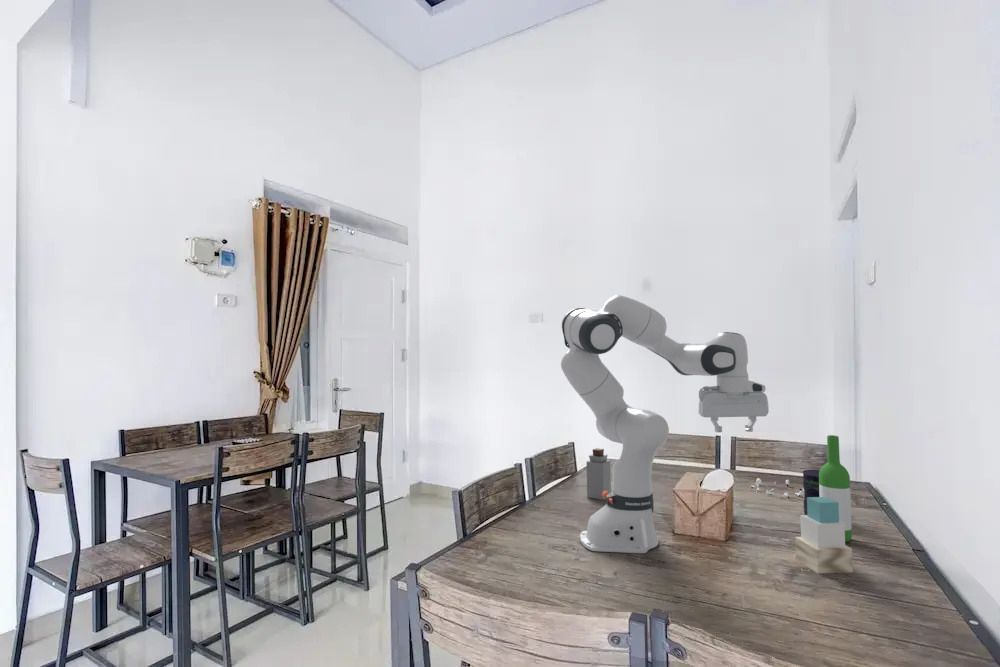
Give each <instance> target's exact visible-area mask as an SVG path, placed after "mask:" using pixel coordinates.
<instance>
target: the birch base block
mask: <svg viewBox="0 0 1000 667" xmlns="http://www.w3.org/2000/svg"><path fill="white" fill-rule="evenodd" d="M794 540H795V541H794V543H795V545H794V547H795V550H794V552H795V560H797V561H798V562H800V563H801V564H803V565H804V566H806V567H807V568H809V569H810V570H812V571H813V572H815V573H817V574H838V573H839V574H841V573H842V574H843V573H844V574H845V573H853V572H854V571H853V570H854V568H853V567H854V565H853V548H852V547H849V546H848V545H846V544H845V548H817V547H815V546H813V545H812V544H810V543H808V542H807V541H805V540H803V539H802V538H801V536H795V537H794Z"/></svg>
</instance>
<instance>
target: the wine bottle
mask: <svg viewBox="0 0 1000 667" xmlns="http://www.w3.org/2000/svg"><path fill="white" fill-rule="evenodd" d="M826 440H827V441H826V444H827V461H826V463H825V464H823V465H822V466H821V467H820V468H819V470H820V471H819V496H820V497H827V498H829V499H831V500H834V501H836V502H838V503H839V521H840V522H842V523H844V525H845V543H847V542H850V541H851V539H852V537H853V535H852V534H853V533H852V532H853V530H852V502H851V501H852V498H851V496H852V495H851V481H850V480H851V479H850V477H851V476H850V474H849V472H848V470H847V469H846V467H845V466H844V465H842V463H841V461H840V439H839V436H838V435H832V434H830V435H827V437H826Z"/></svg>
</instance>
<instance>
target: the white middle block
mask: <svg viewBox="0 0 1000 667" xmlns="http://www.w3.org/2000/svg"><path fill="white" fill-rule="evenodd" d="M799 519H800V537H801V538H802V539H803V540H805V541H807V542H808V543H810V544H812V545H813V546H815V547H817V548H845V545H846V542H845V525H844V523H842V522H840V521H839V522H831V523H819V522H817V521H815V520H813V519H811V518H809V517H808V516H807V515H804V514H802V515H800V517H799Z"/></svg>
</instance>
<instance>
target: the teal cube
mask: <svg viewBox="0 0 1000 667" xmlns="http://www.w3.org/2000/svg"><path fill="white" fill-rule="evenodd" d="M807 516H808V517H809V518H811V519H813V520H815V521H817V522H819V523H831V522H839V503H838V502H836V501H834V500H831V499H829V498H827V497H807Z"/></svg>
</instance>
